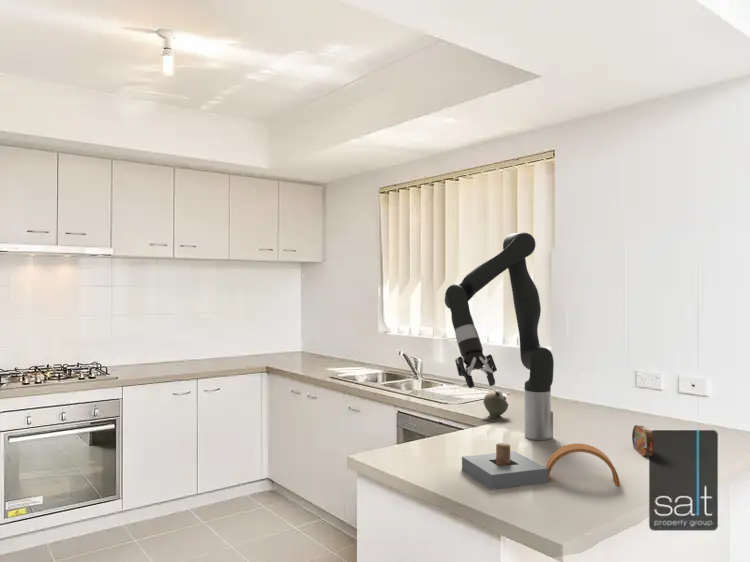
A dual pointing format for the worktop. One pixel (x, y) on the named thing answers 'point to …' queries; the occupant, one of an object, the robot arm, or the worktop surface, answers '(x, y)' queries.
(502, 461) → the peg
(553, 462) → the arch
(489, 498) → the worktop surface
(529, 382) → the robot arm
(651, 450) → the tin
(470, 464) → the socket block
